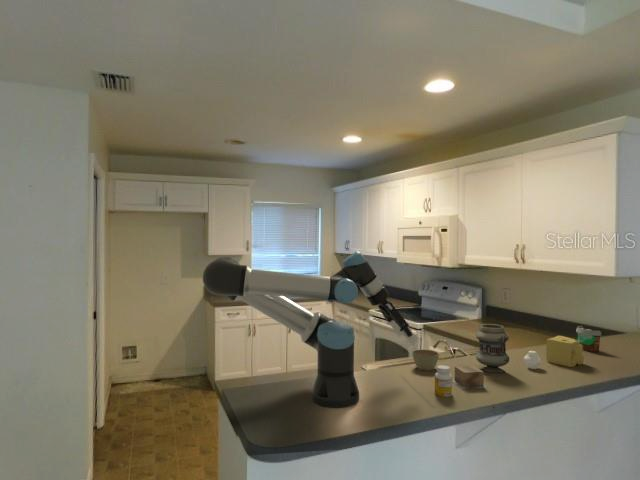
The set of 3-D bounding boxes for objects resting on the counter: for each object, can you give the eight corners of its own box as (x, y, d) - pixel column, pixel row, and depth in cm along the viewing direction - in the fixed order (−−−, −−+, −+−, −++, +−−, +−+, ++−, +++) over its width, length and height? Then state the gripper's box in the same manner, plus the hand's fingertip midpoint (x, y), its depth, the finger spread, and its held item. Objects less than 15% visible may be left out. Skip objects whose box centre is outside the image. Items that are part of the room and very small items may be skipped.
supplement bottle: (436, 392, 140) (436, 363, 140) (453, 395, 138) (453, 365, 138) (433, 398, 136) (433, 368, 136) (450, 401, 133) (450, 370, 133)
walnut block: (464, 387, 143) (464, 372, 143) (454, 380, 150) (454, 366, 150) (483, 386, 144) (483, 371, 144) (473, 379, 151) (473, 365, 151)
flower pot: (439, 375, 158) (439, 356, 158) (412, 373, 160) (412, 355, 160) (437, 367, 168) (437, 349, 168) (412, 366, 170) (412, 348, 170)
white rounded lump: (544, 369, 167) (544, 351, 167) (534, 371, 164) (534, 353, 164) (530, 365, 173) (530, 347, 173) (520, 366, 170) (520, 349, 170)
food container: (569, 346, 203) (569, 325, 203) (581, 346, 204) (581, 325, 204) (588, 353, 191) (588, 331, 191) (601, 353, 192) (601, 331, 192)
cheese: (583, 364, 175) (583, 339, 175) (571, 368, 169) (571, 343, 169) (557, 358, 184) (558, 335, 184) (544, 362, 177) (545, 338, 177)
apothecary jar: (473, 366, 170) (473, 322, 170) (505, 368, 168) (505, 323, 168) (478, 376, 158) (478, 328, 158) (512, 378, 156) (513, 329, 156)
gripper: (394, 288, 138) (430, 340, 140) (373, 281, 163) (404, 325, 165) (376, 302, 138) (412, 354, 139) (358, 293, 162) (389, 337, 164)
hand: (408, 338), depth 152 cm, fingers open, 13 cm apart
